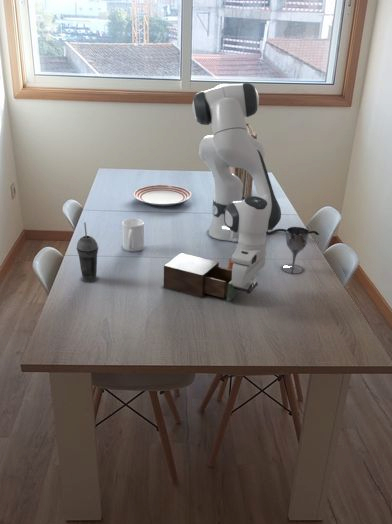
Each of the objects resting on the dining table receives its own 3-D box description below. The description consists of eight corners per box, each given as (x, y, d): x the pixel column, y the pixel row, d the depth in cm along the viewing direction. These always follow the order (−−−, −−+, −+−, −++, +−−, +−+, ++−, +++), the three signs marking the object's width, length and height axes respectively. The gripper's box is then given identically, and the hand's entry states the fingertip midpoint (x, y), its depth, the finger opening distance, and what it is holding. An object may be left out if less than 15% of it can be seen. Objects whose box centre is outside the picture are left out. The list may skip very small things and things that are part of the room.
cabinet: (217, 283, 203) (219, 261, 198) (201, 297, 193) (203, 275, 189) (180, 274, 208) (181, 252, 203) (163, 287, 198) (163, 265, 194)
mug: (140, 256, 219) (140, 230, 214) (118, 255, 220) (118, 229, 214) (145, 244, 229) (145, 219, 224) (125, 243, 230) (124, 218, 224)
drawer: (259, 292, 196) (261, 275, 193) (246, 306, 187) (248, 288, 184) (207, 279, 203) (208, 262, 200) (193, 291, 194) (193, 274, 191)
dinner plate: (170, 213, 261) (170, 206, 259) (121, 201, 273) (121, 194, 271) (202, 198, 281) (202, 191, 279) (155, 187, 293) (155, 181, 291)
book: (251, 199, 284) (257, 135, 267) (232, 198, 283) (237, 134, 267) (243, 183, 305) (248, 123, 289) (226, 183, 304) (230, 123, 288)
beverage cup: (82, 285, 197) (78, 229, 186) (76, 276, 202) (71, 221, 192) (103, 281, 200) (100, 226, 189) (95, 273, 205) (92, 218, 195)
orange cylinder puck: (236, 267, 214) (237, 256, 212) (243, 273, 211) (245, 262, 208) (225, 270, 212) (225, 259, 210) (232, 275, 208) (233, 264, 206)
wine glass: (305, 267, 217) (311, 228, 209) (301, 275, 211) (307, 236, 203) (284, 263, 219) (289, 225, 211) (279, 271, 213) (284, 232, 205)
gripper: (254, 237, 193) (250, 275, 200) (229, 258, 177) (226, 299, 184) (272, 241, 190) (267, 279, 198) (248, 263, 175) (244, 303, 182)
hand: (247, 289), depth 191 cm, fingers closed, pressing on drawer
